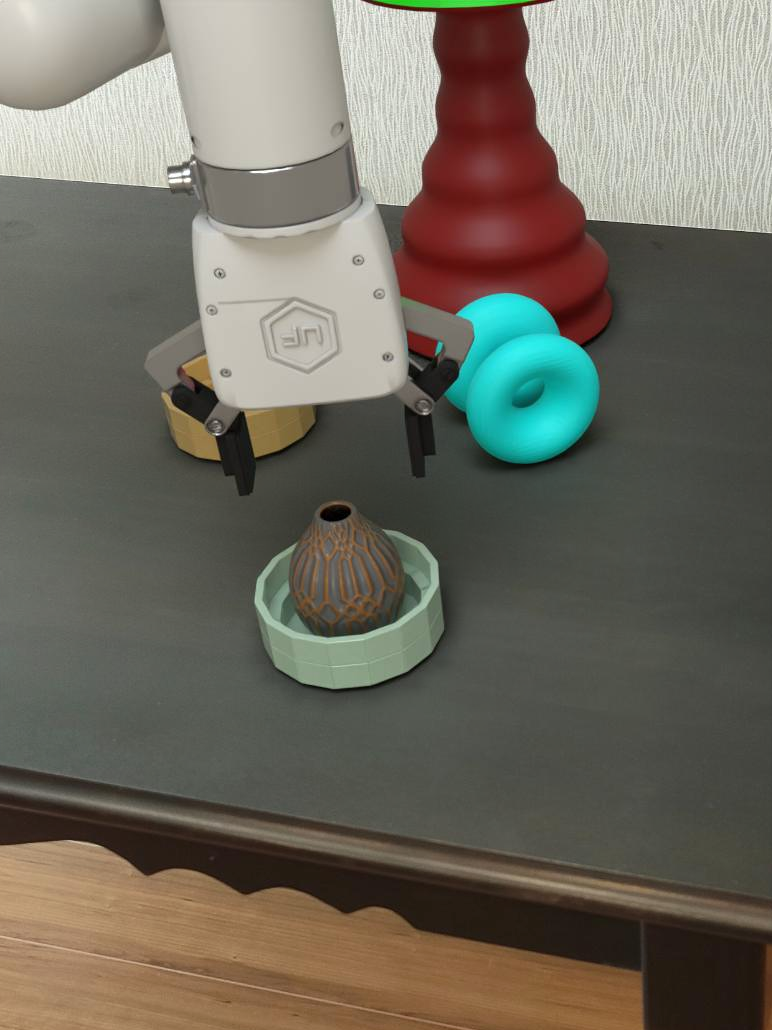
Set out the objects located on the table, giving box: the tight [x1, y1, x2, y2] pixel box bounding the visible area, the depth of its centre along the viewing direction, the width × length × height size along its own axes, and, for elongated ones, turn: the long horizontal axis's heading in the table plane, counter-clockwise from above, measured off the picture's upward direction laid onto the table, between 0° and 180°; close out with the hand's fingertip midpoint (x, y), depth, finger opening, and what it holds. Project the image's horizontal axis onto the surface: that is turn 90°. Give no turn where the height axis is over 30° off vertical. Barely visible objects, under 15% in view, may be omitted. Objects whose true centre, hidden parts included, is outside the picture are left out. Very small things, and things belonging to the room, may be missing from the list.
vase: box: [288, 500, 405, 638], centre depth 77 cm, size 7×7×9 cm
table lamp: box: [360, 0, 613, 360], centre depth 100 cm, size 20×20×45 cm
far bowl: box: [160, 354, 317, 462], centre depth 99 cm, size 11×11×4 cm
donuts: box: [435, 293, 600, 465], centre depth 94 cm, size 10×10×10 cm
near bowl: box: [253, 528, 445, 690], centre depth 78 cm, size 11×11×4 cm
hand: (334, 473), depth 72 cm, fingers open, 9 cm apart
